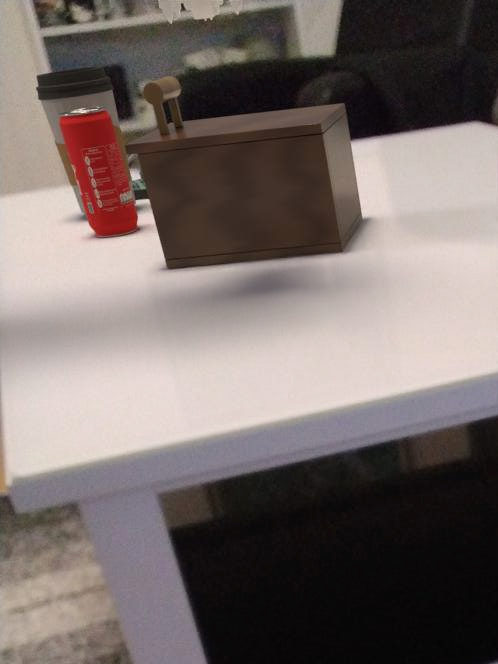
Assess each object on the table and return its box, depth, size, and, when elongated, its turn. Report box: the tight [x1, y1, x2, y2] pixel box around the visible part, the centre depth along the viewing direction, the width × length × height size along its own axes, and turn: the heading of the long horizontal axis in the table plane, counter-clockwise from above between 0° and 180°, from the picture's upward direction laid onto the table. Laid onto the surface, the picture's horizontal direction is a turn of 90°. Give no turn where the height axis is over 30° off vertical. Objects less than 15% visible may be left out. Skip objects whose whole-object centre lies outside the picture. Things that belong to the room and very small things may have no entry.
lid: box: [124, 75, 347, 156], centre depth 93 cm, size 18×14×5 cm
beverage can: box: [59, 107, 139, 238], centre depth 109 cm, size 5×5×12 cm
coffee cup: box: [35, 66, 137, 219], centre depth 118 cm, size 8×8×15 cm
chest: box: [137, 112, 364, 270], centre depth 97 cm, size 17×14×10 cm
